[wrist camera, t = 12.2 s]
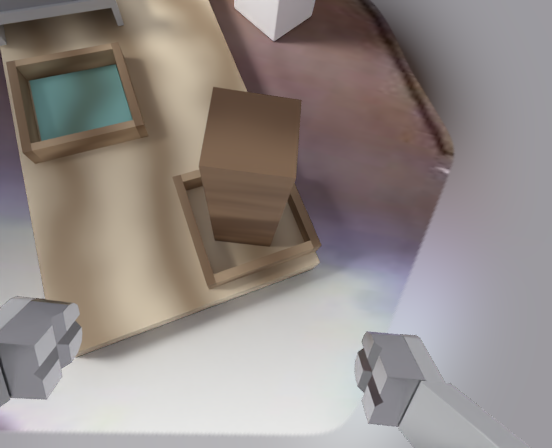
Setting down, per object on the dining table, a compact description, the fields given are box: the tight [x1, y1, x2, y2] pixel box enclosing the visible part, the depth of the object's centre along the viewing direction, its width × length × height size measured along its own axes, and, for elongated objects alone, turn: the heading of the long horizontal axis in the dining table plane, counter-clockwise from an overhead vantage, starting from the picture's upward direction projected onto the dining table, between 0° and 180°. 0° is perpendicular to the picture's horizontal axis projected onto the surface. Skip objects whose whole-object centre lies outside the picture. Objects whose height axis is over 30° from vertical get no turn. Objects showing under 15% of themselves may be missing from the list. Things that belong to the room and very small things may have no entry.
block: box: [199, 87, 301, 247], centre depth 19 cm, size 4×4×11 cm
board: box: [0, 0, 321, 358], centre depth 27 cm, size 18×33×4 cm, turn 21°
